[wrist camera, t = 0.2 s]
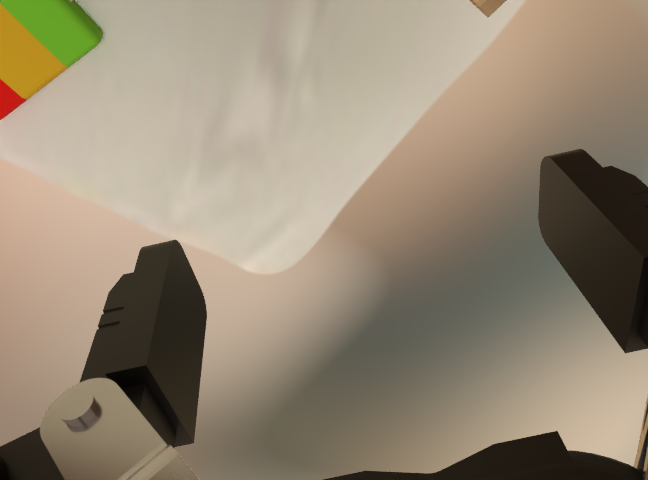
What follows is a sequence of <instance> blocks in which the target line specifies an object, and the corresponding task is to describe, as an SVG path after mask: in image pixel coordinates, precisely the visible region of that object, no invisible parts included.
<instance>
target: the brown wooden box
mask: <svg viewBox="0 0 648 480" xmlns="http://www.w3.org/2000/svg"><path fill="white" fill-rule="evenodd" d="M470 1H471V2H472V3H473V4H474V5H475V6H476V7H477V8H478V9H479V10H480V11H481V12H483V13H484V14H485V15H486V16H487V17H489V16H490V15H491V14H492V13H494V12H495V11H496V10H497V9H498V8H499V7H500V6H501V5H502V4H503V3H504V2H505V1H506V0H470Z"/></svg>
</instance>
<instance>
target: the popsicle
mask: <svg viewBox="0 0 648 480" xmlns="http://www.w3.org/2000/svg"><path fill="white" fill-rule="evenodd" d="M102 34H103V33H102V30H101V29H100V28H99V27H98V26H97V25H96V24H95V23H94V22H93V20H92V19H91V18H90V17H89V16H88V15H87V14H86V13H85V12H84V11H83V10H82V9H81V8H80V7H79V5H78V4H77V3H76V2H75V1H74V0H0V120H1V119H3V118H4V117H5V116H7V115H8V114H9V113H11V112H12V111H13V110H14V109H16V108H17V107H18V106H20V105H21V104H22V103H23V102H25V101H26V100H27V99H29V98H30V97H31V96H32V95H34V94H35V93H36V92H38V91H39V90H40V89H41V88H43V87H44V86H45V85H47V84H48V83H49V82H50V81H52V80H53V79H54V78H56V77H57V76H58V75H59V74H61V73H62V72H63V71H65V70H66V69H67V68H68V67H70V66H71V65H72V64H74V63H75V62H76V61H77V60H79V59H80V58H81V57H83V56H84V55H85V54H87V53H88V52H89V51H90V50H92V49H93V48H94V47H96V46H97V45H98V43H99V42H100V40H101V38H102ZM15 99H16V100H15Z"/></svg>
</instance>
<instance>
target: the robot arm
mask: <svg viewBox="0 0 648 480" xmlns="http://www.w3.org/2000/svg"><path fill="white" fill-rule="evenodd" d="M538 219H539V226H540V230H541V234H542V237H543V239H544V241H545V243H546V244H547V246H548V247H549V249H550V250H551V251H552V253H553V254H554V255H555V257H556V258H557V260H558V261H559V262H560V264H561V265H562V266H563V268H564V269H565V271H566V272H567V273H568V275H569V276H570V277H571V278H572V280H573V281H574V283H575V284H576V286H577V287H578V289H579V290H580V291H581V293H582V294H583V296H585V298H586V300H587V301H588V302H589V304H590V305H591V307H592V308H593V309H594V311H595V312H596V313H597V315H598V316H599V318H600V319H601V320H602V322H603V323H604V324H605V326H606V327H607V329H608V330H609V331H610V333H611V334H612V335H613V337H614V338H615V340H616V341H617V342H618V344H619V345H620V346H621V348H622V349H623V351H624V352H625V353H629V352H633V351H638V350H642V349H647V348H648V187H647V186H646V185H645V184H644V183H642V181H640V180H639V179H638V178H637V177H636V176H634V175H632V174H629V173H627V172H625V171H622V170H620V169H618V168H615V167H613V166H608V167H604V168H603V167H601V165H600V164H598V163H597V162H596V161H595V160H594V159H593V158H592V157H591V156H590V155H589V154H588V153H587V152H586V151H584V150H582V149H577V150H573V151H569V152H564V153H560V154H555V155H551V156H546V157H544V158H543V160H542V162H541V169H540V191H539V213H538ZM103 312H104V314H102V315H101V319H100V322H99V325H98V327H99V329H98V330H97V331H96V334H95V337H94V340H93V343H92V346H91V349H90V353H89V355H88V358H87V361H86V365H85V368H84V371H83V374H82V377H81V380H80V383H78V384H76V385H74V386H72V387H71V388H69V389H67V390H66V391H65V392H63V393H62V394H61V395H60V396H59V397H58V398H56V399H55V400H54V402H53V403H52V404H51V405H50V406H49V408H48V409H47V411H46V412H45V414H44V416H43V418H42V421H41V424H40V427H39V428H38V429H36V430H34V431H32V432H30V433H28V434H26V435H24V436H21V437H19V438H17V439H15V440H13V441H11V442H9V443H7V444H5V445H3V446H1V447H0V480H199V479H198V477H197V476H196V475H195V473H194V472H193V471H192V470H191V469H190V467H189V466H188V465H187V464H186V463H185V461H184V460H183V459H182V458H181V457H180V455H179V454H178V453H177V452H176V451H175V450H174V447H177V446H182V445H187V444H191V443H194V435H195V426H196V416H197V405H198V397H199V387H200V377H201V368H202V358H203V348H204V339H205V329H206V319H207V311H206V304H205V299H204V296H203V293H202V290H201V288H200V286H199V284H198V281H197V279H196V277H195V275H194V272H193V270H192V268H191V266H190V264H189V261H188V259H187V257H186V255H185V253H184V250H183V248H182V246H181V245H180V243H179V242H178V241H177V240H172V241H168V242H163V243H159V244H155V245H150V246H146V247H142V248H141V250H140V252H139V256H138V259H137V263H136V266H135V270H134V272H133V273H129V274H124V275H123V276H122V277H121V278H120V280H119V281H118V282H117V283H116V285H115V286H114V287H113V288H112V290H111V291H110V292H109V294H108V297H107V300H106V303H105V306H104V309H103ZM325 480H648V397H647V402H646V408H645V413H644V419H643V424H642V429H641V435H640V440H639V445H638V450H637V455H636V460H635V464H634V467H632V466H630V465H628V464H625V463H623V462H620V461H617V460H614V459H612V458H608V457H604V456H600V455H596V454H592V453H586V452H579V451H567V449H566V447H565V445H564V443H563V441H562V439H561V437H560V436H559V433H558V432H557V431H555V432H550V433H545V434H541V435H536V436H531V437H526V438H522V439H517V440H512V441H507V442H502V443H497V444H494V445H491V446H489V447H488V448H486V449H483V450H482V451H479V452H477V453H476V454H473V455H471V456H469V457H467V458H465V459H464V460H461V461H459V462H457V463H455V464H453V465H451V466H450V467H447V468H445V469H443V470H441V471H439V472H436V473H431V474H424V473H401V472H400V473H399V472H378V471H363V472H358V473H353V474H348V475H343V476H339V477H334V478H329V479H325Z"/></svg>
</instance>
